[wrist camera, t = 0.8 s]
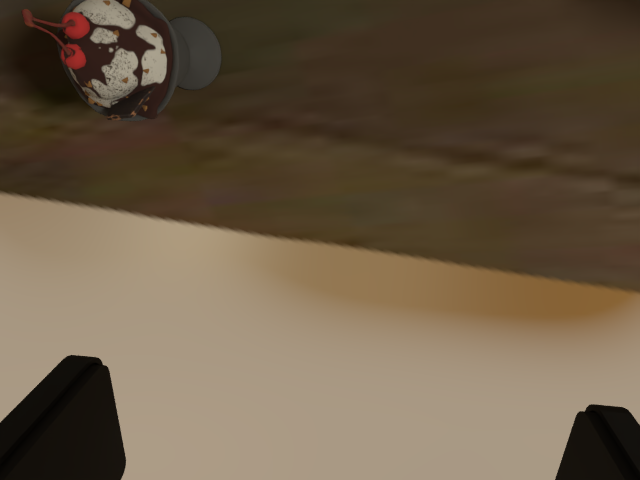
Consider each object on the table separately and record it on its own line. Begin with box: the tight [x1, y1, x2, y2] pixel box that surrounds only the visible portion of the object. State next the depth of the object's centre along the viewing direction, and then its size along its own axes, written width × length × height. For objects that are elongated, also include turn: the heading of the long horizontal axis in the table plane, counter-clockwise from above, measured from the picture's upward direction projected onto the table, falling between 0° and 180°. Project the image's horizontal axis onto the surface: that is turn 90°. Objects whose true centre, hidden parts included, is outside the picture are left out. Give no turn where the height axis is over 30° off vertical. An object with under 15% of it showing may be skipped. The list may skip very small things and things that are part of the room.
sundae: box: [22, 0, 221, 121], centre depth 26 cm, size 7×7×15 cm
